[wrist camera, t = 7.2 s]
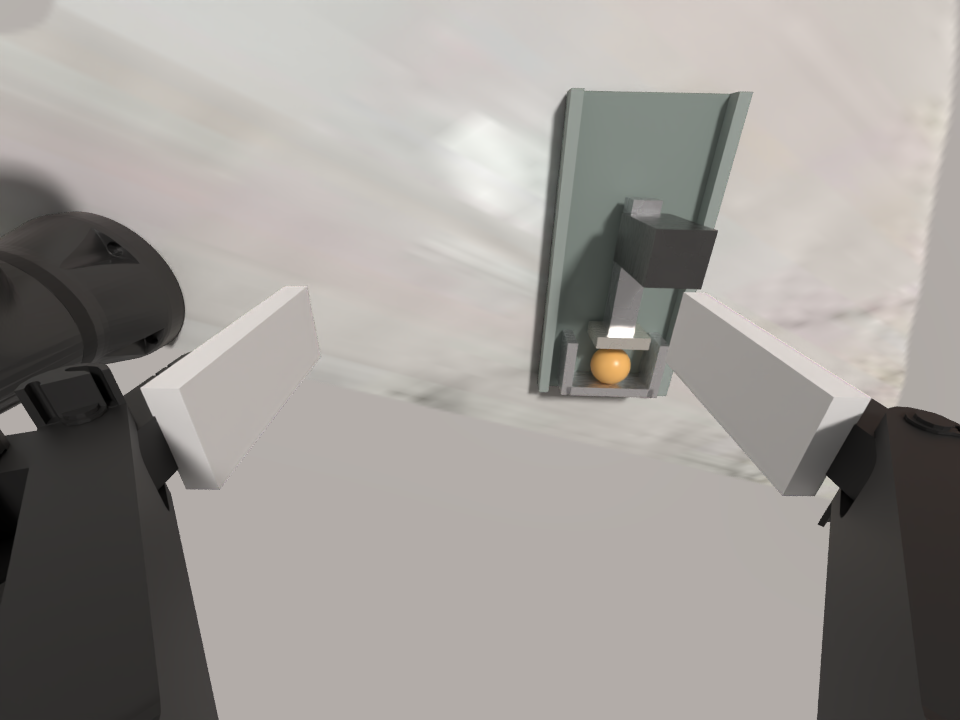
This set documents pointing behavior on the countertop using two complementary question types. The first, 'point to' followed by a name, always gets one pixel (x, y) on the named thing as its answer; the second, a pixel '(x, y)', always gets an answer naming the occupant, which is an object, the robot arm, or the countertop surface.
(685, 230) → the block
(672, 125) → the grey-green channel tray
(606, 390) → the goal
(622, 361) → the ball
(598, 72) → the countertop surface
